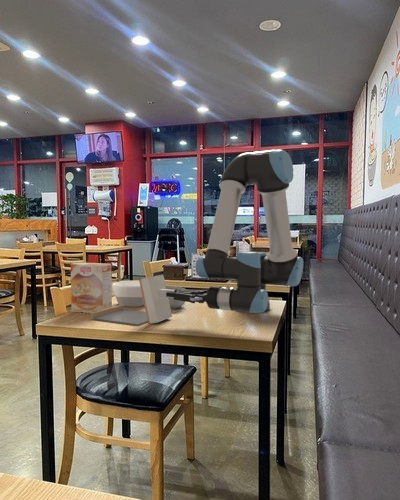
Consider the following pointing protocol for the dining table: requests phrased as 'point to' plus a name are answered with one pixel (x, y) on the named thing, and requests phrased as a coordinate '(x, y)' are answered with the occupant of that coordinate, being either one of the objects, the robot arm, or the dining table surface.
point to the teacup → (175, 303)
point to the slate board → (120, 316)
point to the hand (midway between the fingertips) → (160, 292)
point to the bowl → (128, 293)
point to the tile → (155, 299)
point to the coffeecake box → (90, 287)
